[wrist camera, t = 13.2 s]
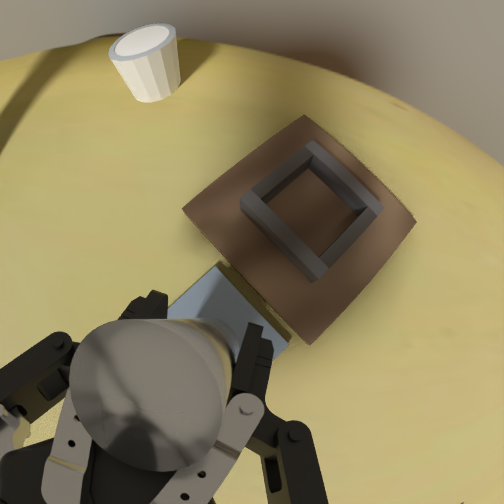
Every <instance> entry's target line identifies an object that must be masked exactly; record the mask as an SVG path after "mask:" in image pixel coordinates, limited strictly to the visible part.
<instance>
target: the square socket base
mask: <svg viewBox="0 0 504 504" xmlns="http://www.w3.org/2000/svg"><path fill="white" fill-rule="evenodd" d="M182 209H183V211H184V213H185V214H186V215H187V216H188V218H189V219H190V220H191V221H192V222H193V223H194V224H195V225H196V226H197V228H198V229H199V230H200V231H201V232H202V233H203V234H204V235H205V236H206V237H207V239H208V240H209V241H210V242H211V243H212V244H213V245H214V246H215V247H216V248H217V249H218V251H219V252H220V253H221V254H222V255H223V256H224V257H225V258H226V259H227V260H228V261H229V262H230V263H231V265H232V266H233V267H234V268H235V269H236V270H237V271H238V272H239V273H240V274H241V275H242V276H243V277H244V278H245V280H246V281H247V282H248V283H249V284H250V285H251V286H252V287H253V288H254V289H255V290H256V291H257V292H258V293H259V294H260V295H261V297H262V298H263V299H264V300H265V301H266V302H267V303H268V304H269V305H270V306H271V307H272V308H273V309H274V310H275V311H276V312H277V313H278V314H279V315H280V316H281V318H282V319H283V320H284V321H285V322H286V323H287V324H288V325H289V326H290V327H291V328H292V329H293V330H294V331H295V332H296V333H297V334H298V335H299V336H300V337H301V338H302V339H303V340H304V341H305V342H306V343H307V344H309V345H311V344H312V343H313V342H314V341H315V340H316V339H317V338H318V337H319V336H320V335H321V334H322V333H323V332H324V331H325V330H326V329H327V328H328V327H329V326H330V325H331V324H332V323H333V322H334V321H335V319H336V318H337V317H338V316H339V315H340V314H341V313H342V312H343V311H344V310H345V309H346V308H347V307H348V305H349V304H350V303H351V302H352V301H353V300H354V299H355V298H356V297H357V295H358V294H359V293H360V292H361V291H362V290H363V289H364V288H365V286H366V285H367V284H368V283H369V282H370V281H371V279H372V278H373V277H374V276H375V275H376V273H377V272H378V271H379V270H380V269H381V267H382V266H383V265H384V264H385V263H386V261H387V260H388V259H389V258H390V256H391V255H392V254H393V253H394V251H395V250H396V249H397V248H398V246H399V245H400V244H401V242H402V241H403V240H404V238H405V237H406V236H407V234H408V233H409V232H410V230H411V229H412V228H413V226H414V225H415V224H416V222H417V221H416V220H415V219H414V218H413V217H412V216H411V214H410V213H409V212H408V211H407V210H406V209H405V208H404V207H403V206H402V204H401V203H400V202H399V201H398V200H397V199H396V198H395V197H394V196H393V195H392V194H391V193H390V192H389V191H388V190H387V189H386V187H385V186H384V185H383V184H382V183H381V182H380V181H379V180H378V179H377V178H376V177H375V176H374V175H373V174H372V173H371V172H370V171H368V170H367V169H366V168H365V167H364V166H363V165H362V164H361V163H360V162H359V161H358V160H357V159H356V158H355V157H354V156H353V155H351V154H350V153H349V152H348V151H347V150H346V149H345V148H344V147H343V146H341V145H340V144H339V143H338V142H337V141H336V140H335V139H333V138H332V137H331V136H330V135H329V134H328V133H326V132H325V131H324V130H323V129H322V128H320V127H319V126H318V125H317V124H315V123H314V122H313V121H312V120H310V119H309V118H308V117H307V116H305V115H303V116H302V117H300V118H299V119H297V120H296V121H294V122H293V123H291V124H290V125H289V126H287V127H286V128H284V129H283V130H281V131H280V132H279V133H277V134H276V135H274V136H273V137H272V138H270V139H269V140H268V141H266V142H265V143H263V144H262V145H261V146H259V147H258V148H257V149H255V150H254V151H253V152H251V153H250V154H249V155H247V156H246V157H245V158H243V159H242V160H241V161H239V162H238V163H237V164H236V165H234V166H233V167H232V168H230V169H229V170H228V171H227V172H225V173H224V174H223V175H222V176H220V177H219V178H218V179H217V180H215V181H214V182H213V183H212V184H210V185H209V186H208V187H207V188H206V189H204V190H203V191H202V192H201V193H199V194H198V195H197V196H196V197H195V198H193V199H192V200H191V201H190V202H189V203H188V204H186V205H185V206H184V207H183V208H182Z"/></svg>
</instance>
